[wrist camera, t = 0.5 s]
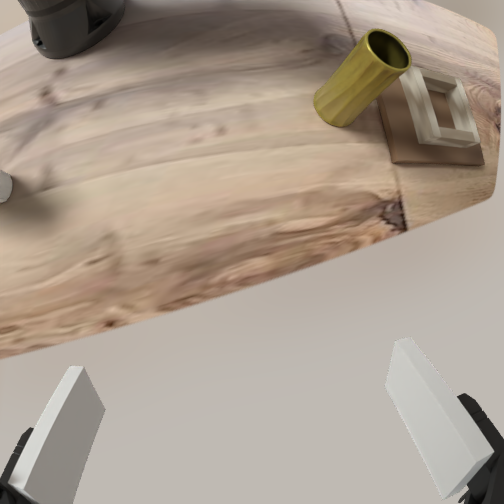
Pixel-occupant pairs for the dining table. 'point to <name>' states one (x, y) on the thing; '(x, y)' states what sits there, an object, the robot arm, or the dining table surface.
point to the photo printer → (5, 186)
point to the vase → (362, 77)
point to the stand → (429, 120)
